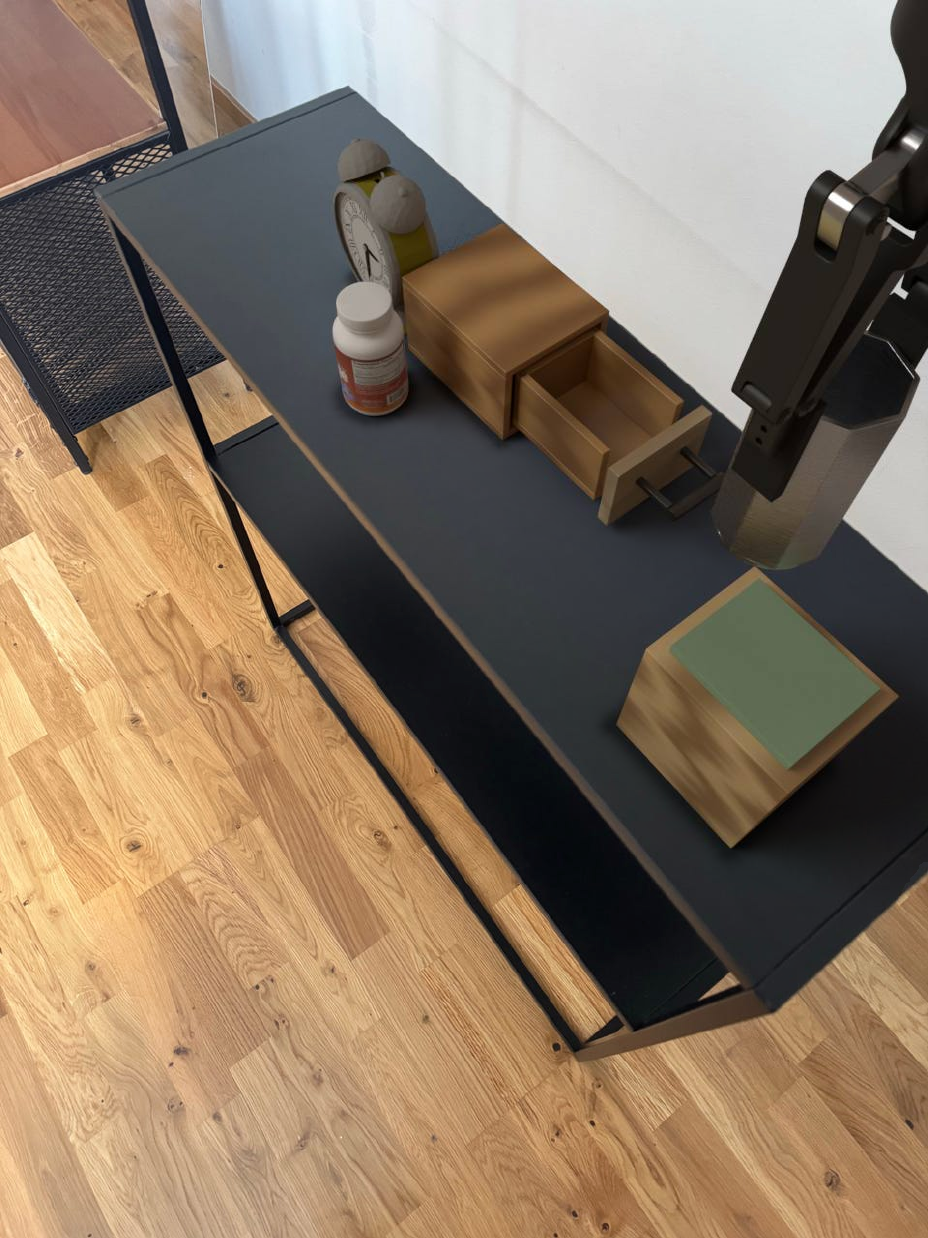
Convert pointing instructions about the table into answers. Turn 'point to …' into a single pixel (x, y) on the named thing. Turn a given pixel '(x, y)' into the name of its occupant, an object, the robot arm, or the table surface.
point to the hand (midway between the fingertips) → (809, 444)
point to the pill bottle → (370, 349)
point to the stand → (724, 732)
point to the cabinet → (492, 319)
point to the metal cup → (821, 462)
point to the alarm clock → (381, 220)
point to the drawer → (612, 426)
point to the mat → (774, 672)
